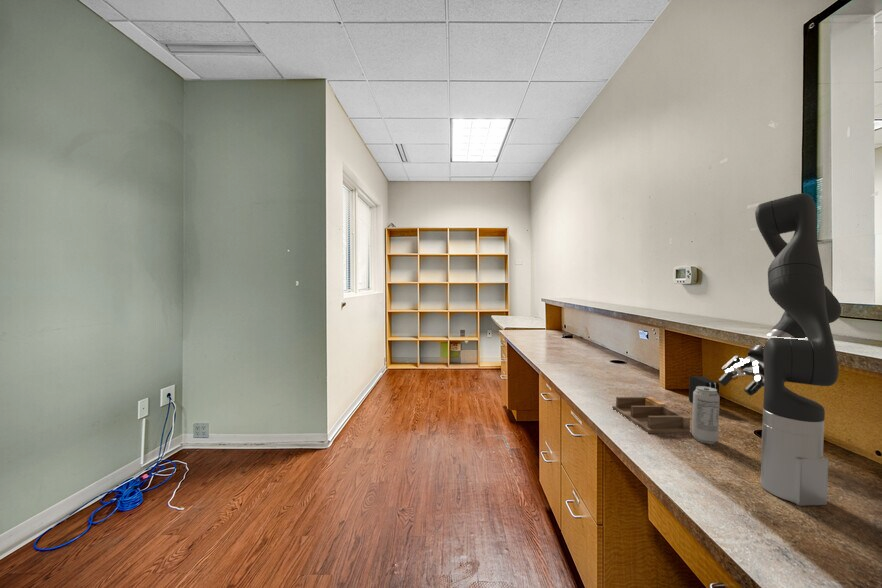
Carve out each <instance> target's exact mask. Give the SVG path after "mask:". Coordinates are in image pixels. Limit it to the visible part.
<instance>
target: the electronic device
mask: <svg viewBox="0 0 882 588" xmlns="http://www.w3.org/2000/svg"><path fill="white" fill-rule="evenodd" d="M688 382H689V387H688V392H689V393H688V396H689V397H688V401H689V402H690V403H691V404H693V392H694V391H695V389H696V387H697V386H706V387H711V388H714V389H717V393H718V394H719V395H720V383H719V382H718V381H714V380H712V379H710V378H707V377H705V376H703V375H702V376H701V375H700V376H699V375H698V376H697V375H696V376H695V375H690V376H689V381H688Z"/></svg>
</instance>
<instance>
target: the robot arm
mask: <svg viewBox="0 0 882 588" xmlns="http://www.w3.org/2000/svg"><path fill="white" fill-rule="evenodd" d="M754 211H755V213H754V214H755V215H754V216H755V222H756V226H757V228H758V230H759V233H760V234H761V236H762V237H763V239H764V242H765V243H766V245H767V247H768V249H769V251H770V252H771V254H772V256H773V257H774V258H773V260H772V261H771V263H770V264H769V267H768V269H767V286H768V287H767V288H768V293H769V295H770V297H771V298H772V300H773V301H774V302H775V303H776V304H777V305H778V307H780V308H781V309H782V310H783V311H784V312H783V313H782V314H781V317H780V320H779V321H778V322H777V323H776V324H775V325H774V326H773V327H772V328H771V329H770V330H769V331H768V332H767V333H765V334H764V335H767V336H777V337H791V338H805V337H807V338H806V339H805V340H798V339H784V338H770V339H768V340H767V342H766V343H765V346H764V347H763V346H762V345H755V344H754V345H755V346H754V345H753V346H752V347H753V348H752V347H750V348H749V350H748V351H747V356H746V357H745V358H742V357H741V358H740V357H739V355H734V356H733V357H732V358H731V359H729V360H728V361H727V362H726V363H724V365H723V366H722V367H721V369H722V371H723V372H724V374H722V375H721V376H720V378H718V381H717V383H718V384H719V385H721V386H722V387H726V386H727V385H728V384H729V383H730V382H731V381H732V380H733V379H734V378H736V377H738V376H740V377H743V376H745V375H746V376H752V377H753V378H754V380H752V381H751V382H750V383H749V384H748V385H747V386H746V387H745V388H744V392H745V393H746V394H747V395H748V396H753V395H755V394H756V393H757V392H758V391H760V390H761V388H763V401H762V402H763V403H762V404H763V405H762V406H763V407H762V425H761V427H762V428H761V429H762V431H761V454H760V456H761V457H760V459H761V460H760V486H761V487H762V488H763V489H764V490H765V491H767V492H768V493H770V494H771V495H774V496H775V497H778V498H780V499H782V500H785V501H789V502H791V503H793V504H795V505H797V506H799V507H800V506H802V507H805V506H827V504H828V487H829V485H828V484H829V483H828V482H829V462H830V460H829V459H828V458H826V457H824V439H825V438H824V433H825V420H826V419H825V417H826V416H825V415H826V411H825V407H824V406H823V405H822V404H820V403H819V402H817V401H815V400H813V399H810V398H807V397H805V396H803V395H800V394H798V393H796V392H794V391H792V390H790V389H789V388H787V387H786V386H785V382H787V383H795V384H802V385H811V386H818V387H831V386H833V385H834V384H836V382H837V381H838V378H839V371H840V369H839V366H840V365H839V359H838V353H837V350H836V346H835V341H834V337H833V334H832V329H831V326H830V325H831V324H832V323H834V322H836V321H837V320H838V319H839V318H840V316H841V314H842V307H841V304H840V302H839V300H838V298H836V296H835V295H834V294H833V292H832V291H831V290H830V289H829V288H828V286H826V285H825V278H824V272H823V267H822V262H821V261H822V260H821V256H820V252H819V244H818V243H819V242H818V215H817V207H816V203H815V201H814V198H813V197H812V196H811V195H810V194H808V193H805V192H804V193H803V192H802V193H795V194H792V195H788V196H784V197H780V198H777V199H773V200H770V201H767V202H763V203H760V204H759V205H757V206H756V208H755V210H754ZM792 232H794V233H793V236H792V237H791V239H790V241H788V243H787V241H785V240H784V239H783V237H782V236H781V234H787V233H792ZM762 348H764V349H762ZM729 367H730V368H729ZM739 368H740V369H739Z"/></svg>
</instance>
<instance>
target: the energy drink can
mask: <svg viewBox="0 0 882 588" xmlns="http://www.w3.org/2000/svg"><path fill="white" fill-rule="evenodd" d="M691 417H692V419H691V420H692V421H691V422H692V423H691V425H692V426H691V429H692V430H691V435H692V437H694V439H695V440H696V441H698V442H700V443H703V444H708V445H714V444H716V442H718V441H719V427H720V425H719V423H720V420H719V419H720V393H719V394H718V393H717V389H714V388H711V387H706V386H697V387H696V389H695V391H694V392H693V403H692V416H691Z"/></svg>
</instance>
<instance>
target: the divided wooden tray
mask: <svg viewBox="0 0 882 588" xmlns="http://www.w3.org/2000/svg"><path fill="white" fill-rule="evenodd" d="M615 399H616V401H615V405H612V408H613V409H614V410H613V409H612V408H611V409H612V410H613V411H615V410H616V411H617V412H616V411H615V412H616V413H618V412H619V413H620V414H619V413H618V414H619V415H621V414H622V415H623V416H622V415H621V416H622V417H624V416H625V417H626V418H625V417H624V418H625V419H627V420H628V419H629V420H628V421H630V422H631V421H632V422H631V423H633V424H634V423H635V424H634V425H636V426H637V425H638V426H637V427H639V428H640V427H641V428H642V429H641V428H640V429H641V430H643V431H644V430H645V431H644V432H646V433H647V432H648V434H665V433H666V434H670V433H671V434H672V433H673V434H674V433H675V434H676V433H683V434H684V433H690V432H691V417H690V416H687V415H686V414H684V413H682V412H680V411H678V410H676V409H673V408H672V407H670V406H668V405H666V403H664V402H661V401H660V400H657V399H655V397H651V396H648V395H643V396H616V398H615Z"/></svg>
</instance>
